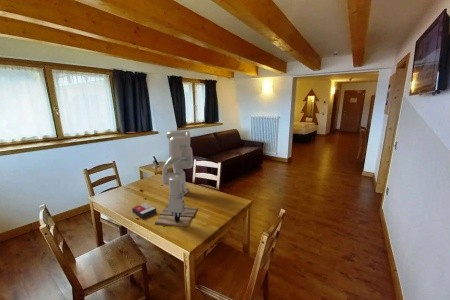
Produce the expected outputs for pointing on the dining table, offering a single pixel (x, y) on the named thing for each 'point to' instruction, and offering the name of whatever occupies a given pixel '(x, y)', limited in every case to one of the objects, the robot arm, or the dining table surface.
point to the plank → (172, 220)
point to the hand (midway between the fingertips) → (177, 220)
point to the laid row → (188, 213)
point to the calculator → (144, 210)
